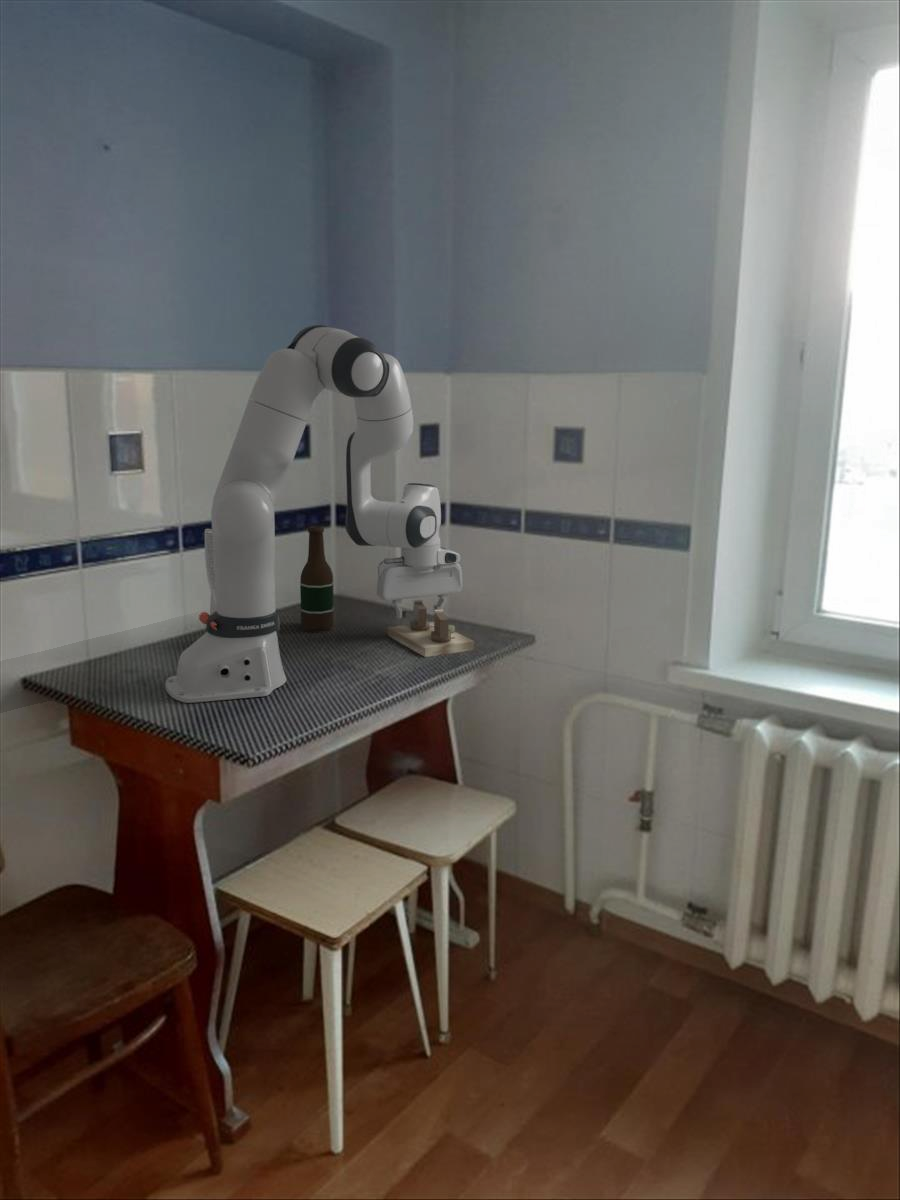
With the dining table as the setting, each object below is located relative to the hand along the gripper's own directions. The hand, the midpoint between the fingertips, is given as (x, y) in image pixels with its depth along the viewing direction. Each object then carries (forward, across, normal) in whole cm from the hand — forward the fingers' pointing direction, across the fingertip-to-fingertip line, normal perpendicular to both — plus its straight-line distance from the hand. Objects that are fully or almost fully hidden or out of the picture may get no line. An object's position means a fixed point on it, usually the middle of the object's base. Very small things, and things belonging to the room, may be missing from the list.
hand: (419, 615), depth 210 cm
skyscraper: (+6, -41, +12) cm, 43 cm away
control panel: (+5, 0, -5) cm, 7 cm away
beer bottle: (+5, -18, +17) cm, 25 cm away
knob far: (+3, 0, 0) cm, 3 cm away
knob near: (+3, 0, -10) cm, 10 cm away
